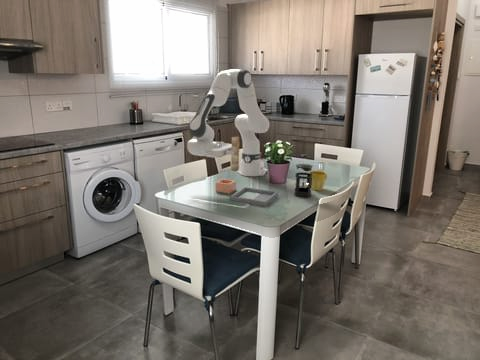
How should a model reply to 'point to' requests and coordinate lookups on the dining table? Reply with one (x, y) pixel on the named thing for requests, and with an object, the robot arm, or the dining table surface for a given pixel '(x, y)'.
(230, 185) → the salmon square socket block
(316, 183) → the yellow cup
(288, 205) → the dining table surface
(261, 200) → the charcoal tray
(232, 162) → the wooden block tower
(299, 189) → the french press
